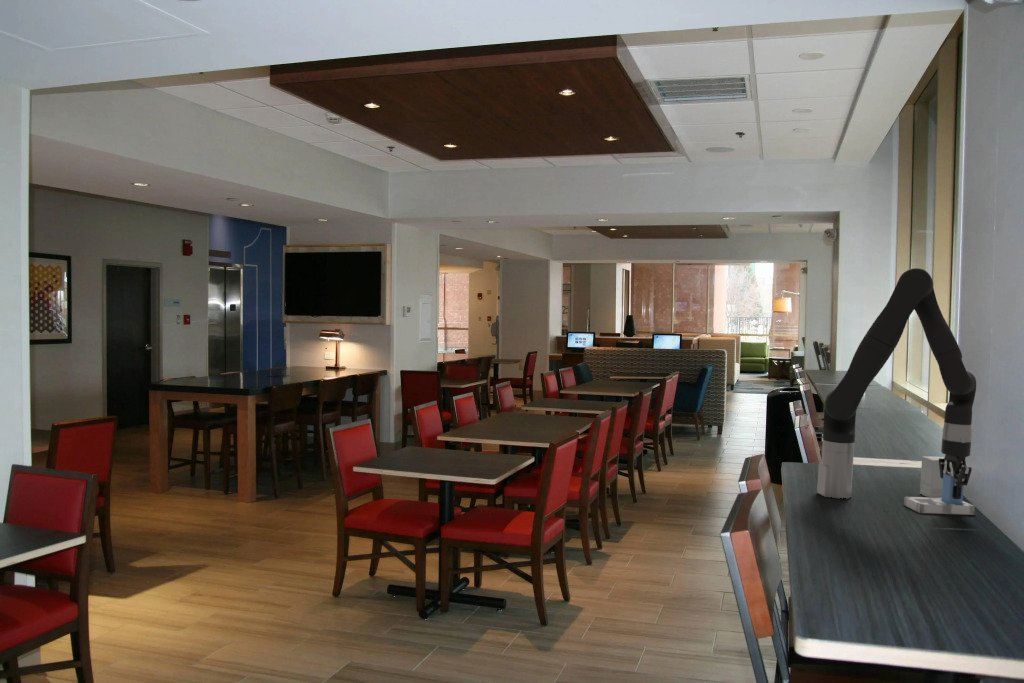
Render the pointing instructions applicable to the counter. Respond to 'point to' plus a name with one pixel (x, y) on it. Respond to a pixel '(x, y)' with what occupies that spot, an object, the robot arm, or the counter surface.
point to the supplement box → (931, 477)
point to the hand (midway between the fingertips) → (952, 496)
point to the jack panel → (937, 506)
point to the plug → (950, 490)
